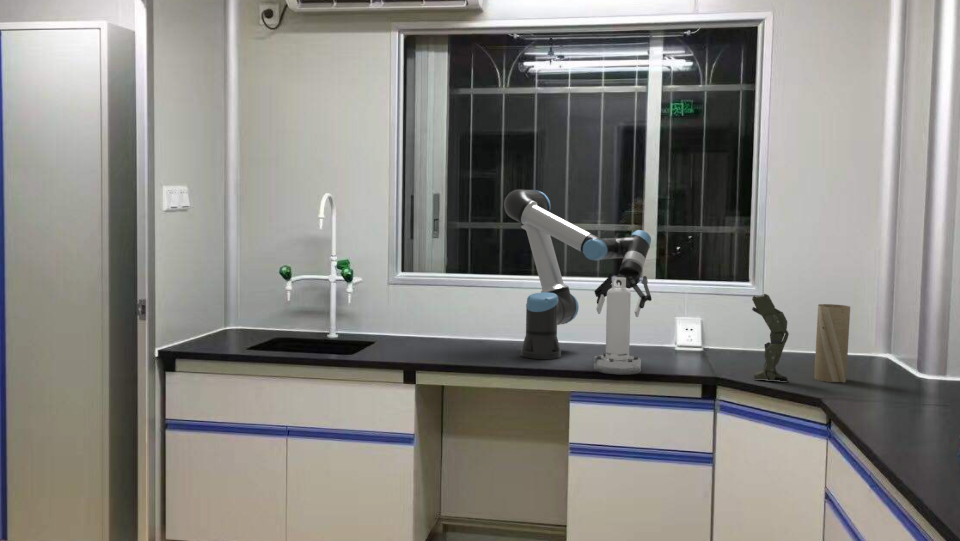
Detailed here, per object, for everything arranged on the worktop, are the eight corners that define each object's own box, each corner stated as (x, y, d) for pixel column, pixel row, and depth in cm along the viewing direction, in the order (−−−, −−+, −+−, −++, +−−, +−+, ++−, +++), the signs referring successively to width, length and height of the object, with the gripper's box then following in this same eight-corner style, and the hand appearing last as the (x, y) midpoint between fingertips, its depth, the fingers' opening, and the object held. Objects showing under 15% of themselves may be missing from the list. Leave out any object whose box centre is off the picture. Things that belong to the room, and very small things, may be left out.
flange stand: (598, 374, 282) (598, 360, 282) (590, 365, 298) (590, 351, 298) (645, 374, 283) (645, 360, 283) (634, 365, 299) (635, 352, 299)
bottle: (631, 357, 292) (633, 277, 291) (625, 361, 285) (627, 279, 283) (609, 355, 296) (610, 276, 294) (602, 359, 289) (604, 278, 287)
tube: (843, 384, 275) (847, 308, 273) (811, 380, 280) (815, 306, 278) (848, 379, 283) (852, 305, 282) (817, 375, 289) (821, 303, 287)
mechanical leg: (799, 377, 279) (780, 289, 279) (799, 382, 272) (780, 291, 272) (756, 383, 284) (738, 297, 284) (756, 388, 277) (737, 299, 277)
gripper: (668, 275, 296) (654, 322, 284) (601, 271, 307) (585, 316, 295) (664, 261, 291) (650, 308, 279) (596, 258, 302) (580, 303, 290)
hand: (616, 312), depth 287 cm, fingers open, 13 cm apart
